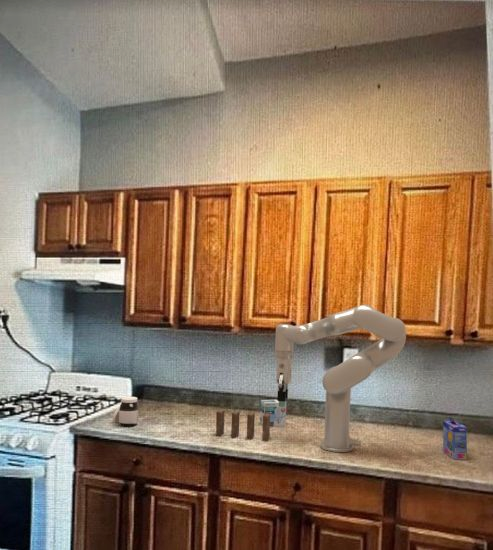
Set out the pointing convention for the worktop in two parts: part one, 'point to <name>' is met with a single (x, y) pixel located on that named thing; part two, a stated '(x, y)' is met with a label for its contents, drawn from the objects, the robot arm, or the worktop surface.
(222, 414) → the walnut domino
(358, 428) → the worktop surface
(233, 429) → the walnut domino
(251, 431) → the walnut domino
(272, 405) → the light bulb box
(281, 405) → the teal domino
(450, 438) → the ink cartridge box
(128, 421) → the spread jar
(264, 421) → the walnut domino
